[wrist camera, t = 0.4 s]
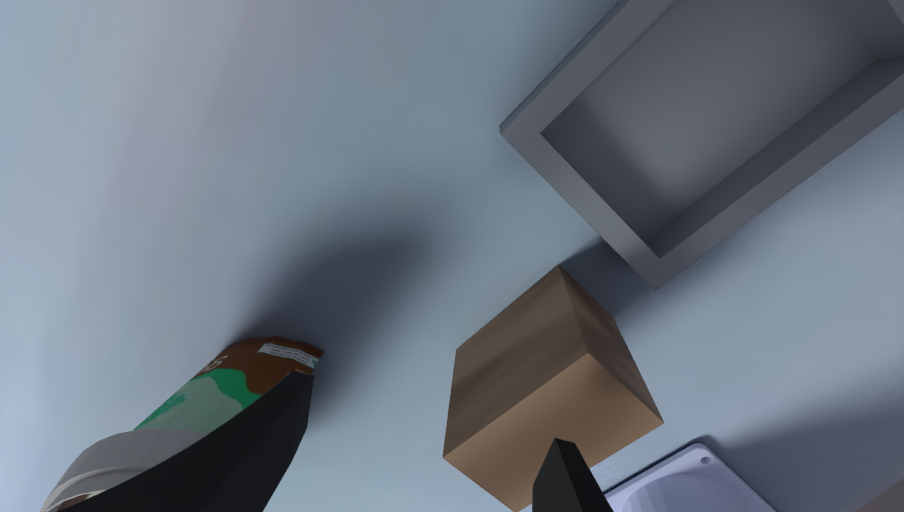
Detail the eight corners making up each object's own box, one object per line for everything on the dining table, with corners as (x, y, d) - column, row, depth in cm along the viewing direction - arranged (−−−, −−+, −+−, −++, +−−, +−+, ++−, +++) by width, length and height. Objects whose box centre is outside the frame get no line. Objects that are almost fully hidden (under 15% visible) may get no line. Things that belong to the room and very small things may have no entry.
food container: (229, 273, 22) (45, 417, 13) (336, 332, 23) (233, 506, 14) (161, 421, 27) (-10, 604, 18) (252, 466, 28) (134, 662, 19)
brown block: (612, 316, 21) (664, 423, 15) (509, 393, 24) (515, 513, 17) (558, 264, 21) (588, 352, 14) (456, 348, 23) (442, 457, 17)
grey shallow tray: (905, 57, 16) (974, 55, 14) (636, 265, 20) (654, 290, 18) (765, -152, 14) (819, -194, 12) (499, 125, 18) (500, 134, 16)
